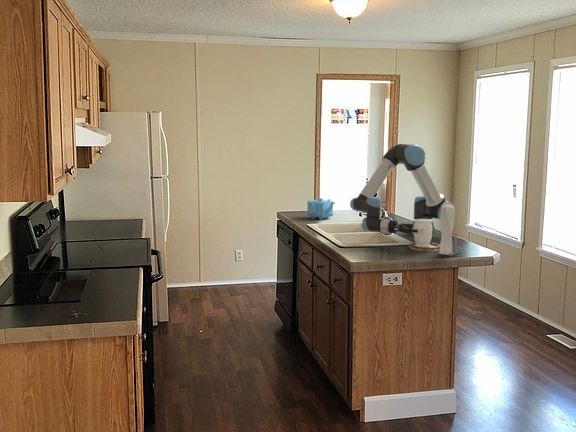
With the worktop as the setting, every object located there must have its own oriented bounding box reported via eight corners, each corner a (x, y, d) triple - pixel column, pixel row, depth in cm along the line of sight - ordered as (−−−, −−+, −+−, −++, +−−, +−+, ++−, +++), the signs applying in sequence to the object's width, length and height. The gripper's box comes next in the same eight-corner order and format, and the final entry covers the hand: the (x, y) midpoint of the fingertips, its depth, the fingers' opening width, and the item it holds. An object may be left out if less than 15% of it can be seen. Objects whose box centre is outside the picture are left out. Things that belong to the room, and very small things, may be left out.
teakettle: (305, 216, 446) (306, 196, 444) (331, 216, 448) (331, 196, 446) (309, 220, 427) (309, 200, 425) (335, 220, 429) (336, 200, 427)
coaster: (413, 244, 348) (413, 240, 347) (443, 247, 340) (443, 243, 340) (405, 249, 333) (405, 246, 332) (436, 252, 325) (436, 249, 325)
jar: (432, 248, 329) (432, 220, 327) (412, 247, 331) (412, 220, 330) (432, 245, 339) (432, 218, 338) (413, 245, 342) (413, 218, 340)
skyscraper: (449, 256, 318) (452, 203, 314) (435, 254, 323) (438, 202, 319) (457, 254, 324) (459, 201, 320) (443, 251, 330) (445, 200, 325)
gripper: (395, 229, 355) (431, 232, 346) (382, 236, 333) (421, 240, 324) (395, 216, 354) (432, 219, 345) (383, 223, 332) (421, 226, 323)
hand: (427, 229), depth 334 cm, fingers open, 13 cm apart
